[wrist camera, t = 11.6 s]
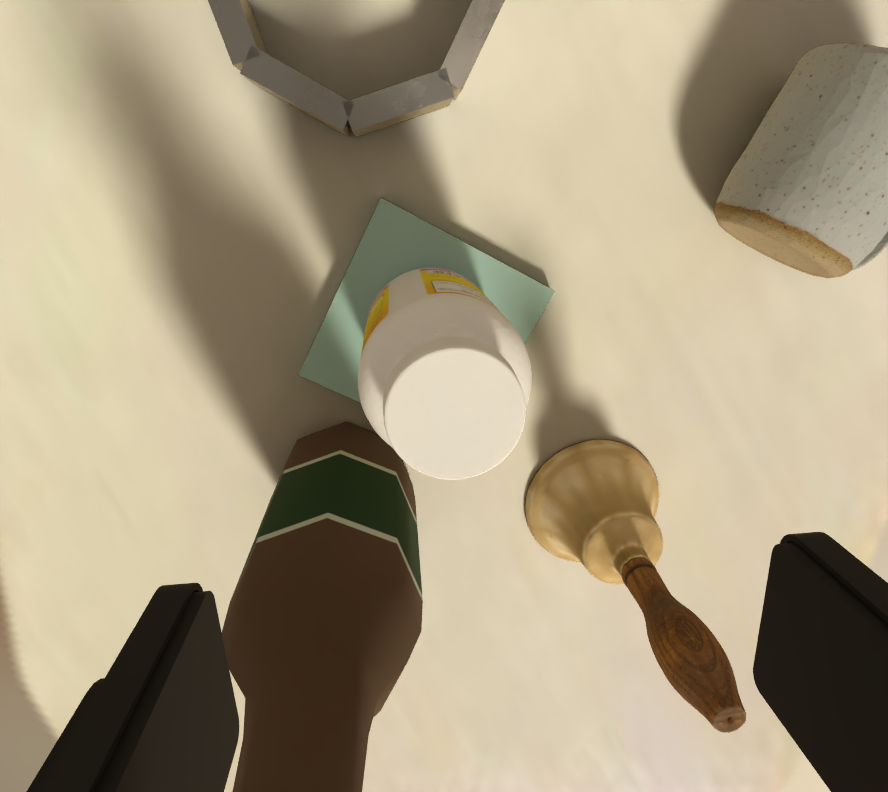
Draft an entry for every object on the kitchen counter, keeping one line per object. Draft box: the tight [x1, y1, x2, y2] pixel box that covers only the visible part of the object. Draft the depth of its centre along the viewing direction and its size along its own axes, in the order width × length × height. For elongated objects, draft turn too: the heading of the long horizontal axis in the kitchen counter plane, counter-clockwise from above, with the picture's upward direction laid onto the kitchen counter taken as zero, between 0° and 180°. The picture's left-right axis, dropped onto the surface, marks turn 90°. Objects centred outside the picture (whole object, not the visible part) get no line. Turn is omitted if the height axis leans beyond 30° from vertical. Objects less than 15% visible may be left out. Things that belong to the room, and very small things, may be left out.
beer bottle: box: [222, 422, 423, 792], centre depth 24 cm, size 8×8×24 cm
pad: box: [298, 198, 555, 403], centre depth 32 cm, size 10×10×1 cm
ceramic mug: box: [714, 43, 888, 278], centre depth 28 cm, size 11×8×8 cm
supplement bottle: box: [358, 268, 532, 480], centre depth 26 cm, size 7×7×13 cm
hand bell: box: [525, 440, 746, 732], centre depth 29 cm, size 8×8×16 cm
